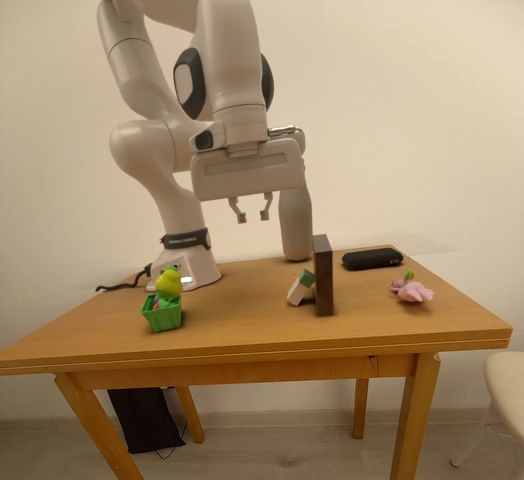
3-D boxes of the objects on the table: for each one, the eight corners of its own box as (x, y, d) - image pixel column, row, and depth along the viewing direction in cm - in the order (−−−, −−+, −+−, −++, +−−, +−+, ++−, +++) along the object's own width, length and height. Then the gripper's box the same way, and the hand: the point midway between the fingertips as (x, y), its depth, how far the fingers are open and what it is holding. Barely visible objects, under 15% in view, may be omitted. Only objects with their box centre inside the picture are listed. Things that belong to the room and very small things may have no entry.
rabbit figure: (383, 295, 64) (405, 312, 51) (384, 267, 62) (408, 277, 48) (413, 292, 63) (445, 309, 50) (415, 264, 61) (449, 273, 48)
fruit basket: (153, 315, 68) (137, 266, 63) (191, 307, 69) (179, 259, 64) (148, 336, 59) (127, 281, 53) (192, 327, 60) (177, 272, 54)
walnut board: (317, 316, 56) (314, 252, 50) (314, 288, 70) (311, 235, 64) (333, 315, 56) (332, 250, 50) (327, 287, 70) (325, 233, 64)
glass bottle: (310, 254, 99) (306, 155, 85) (316, 261, 90) (313, 152, 76) (281, 258, 99) (272, 160, 85) (284, 266, 90) (275, 158, 76)
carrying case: (349, 273, 76) (407, 266, 75) (349, 261, 75) (409, 254, 74) (340, 263, 85) (392, 256, 84) (340, 252, 84) (393, 245, 83)
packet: (287, 306, 62) (285, 275, 59) (288, 298, 66) (286, 268, 63) (314, 305, 61) (314, 273, 58) (314, 297, 65) (314, 267, 62)
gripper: (304, 125, 51) (308, 212, 58) (191, 144, 54) (208, 225, 61) (304, 119, 45) (309, 217, 52) (179, 141, 48) (199, 230, 55)
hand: (253, 221), depth 56 cm, fingers open, 3 cm apart
